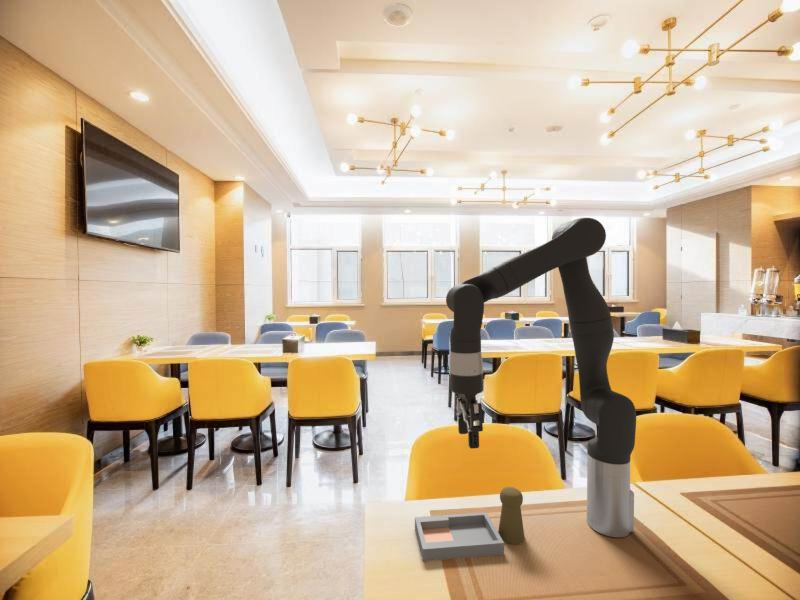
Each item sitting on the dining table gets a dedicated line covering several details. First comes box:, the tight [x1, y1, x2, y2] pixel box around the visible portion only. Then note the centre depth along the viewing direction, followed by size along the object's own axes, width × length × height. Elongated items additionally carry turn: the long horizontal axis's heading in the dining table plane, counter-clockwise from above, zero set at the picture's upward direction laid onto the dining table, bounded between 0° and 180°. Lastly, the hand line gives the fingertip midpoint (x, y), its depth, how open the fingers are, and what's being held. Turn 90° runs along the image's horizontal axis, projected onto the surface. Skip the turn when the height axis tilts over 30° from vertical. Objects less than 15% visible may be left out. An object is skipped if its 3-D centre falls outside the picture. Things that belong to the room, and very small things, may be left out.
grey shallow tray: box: [414, 511, 505, 562], centre depth 87 cm, size 18×12×3 cm, turn 96°
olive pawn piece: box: [497, 486, 526, 546], centre depth 88 cm, size 6×6×11 cm
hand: (468, 440), depth 87 cm, fingers open, 8 cm apart
